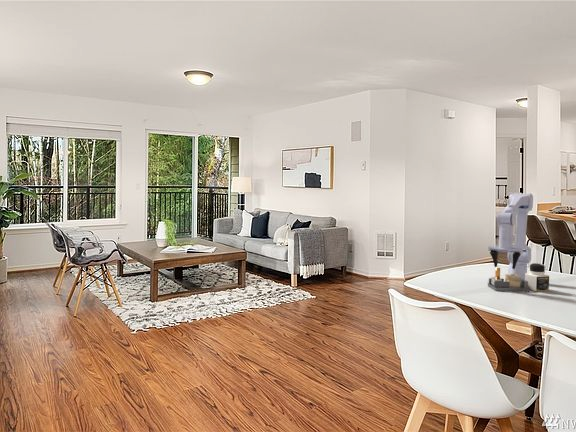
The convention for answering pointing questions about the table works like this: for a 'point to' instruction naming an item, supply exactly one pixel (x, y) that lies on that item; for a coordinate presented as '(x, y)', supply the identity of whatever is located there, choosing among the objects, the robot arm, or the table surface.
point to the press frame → (505, 286)
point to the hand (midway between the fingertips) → (504, 267)
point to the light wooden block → (513, 280)
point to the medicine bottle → (537, 278)
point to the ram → (496, 276)
